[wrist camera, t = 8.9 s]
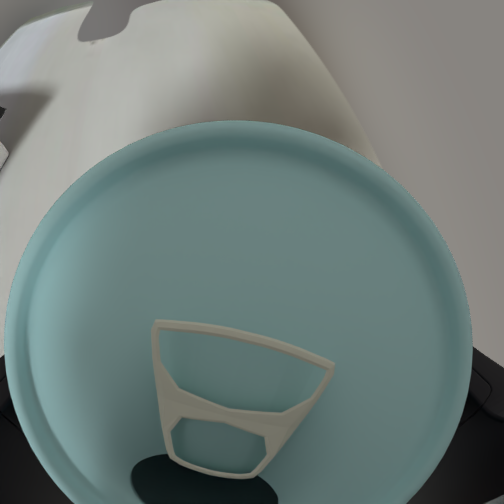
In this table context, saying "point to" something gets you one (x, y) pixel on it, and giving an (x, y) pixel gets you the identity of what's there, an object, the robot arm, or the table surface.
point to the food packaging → (0, 151)
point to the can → (238, 326)
